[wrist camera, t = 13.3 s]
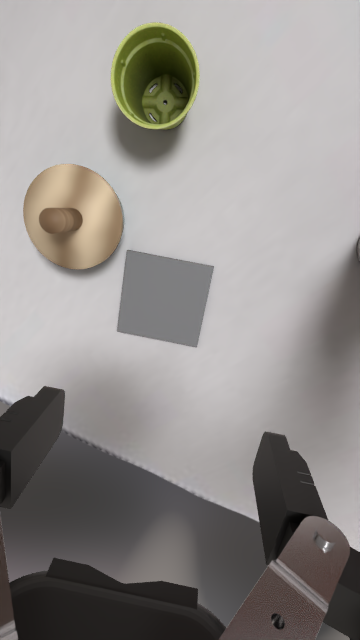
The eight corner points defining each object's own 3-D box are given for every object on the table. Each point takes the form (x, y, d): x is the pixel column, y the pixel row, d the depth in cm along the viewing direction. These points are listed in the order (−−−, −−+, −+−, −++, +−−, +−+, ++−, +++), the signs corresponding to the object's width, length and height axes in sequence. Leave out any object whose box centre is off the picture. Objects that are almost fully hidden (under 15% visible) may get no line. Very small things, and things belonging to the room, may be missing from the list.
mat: (213, 266, 49) (213, 267, 48) (196, 345, 53) (196, 347, 52) (127, 249, 49) (126, 250, 48) (118, 330, 53) (117, 331, 53)
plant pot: (114, 104, 43) (92, 79, 35) (164, 40, 40) (153, -3, 32) (165, 159, 45) (155, 148, 37) (216, 101, 42) (218, 75, 34)
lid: (129, 175, 41) (114, 169, 35) (117, 276, 45) (101, 287, 39) (27, 155, 41) (-6, 146, 35) (25, 258, 46) (-5, 266, 39)
